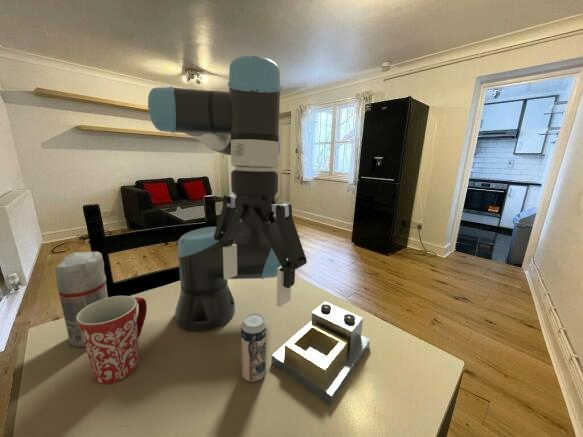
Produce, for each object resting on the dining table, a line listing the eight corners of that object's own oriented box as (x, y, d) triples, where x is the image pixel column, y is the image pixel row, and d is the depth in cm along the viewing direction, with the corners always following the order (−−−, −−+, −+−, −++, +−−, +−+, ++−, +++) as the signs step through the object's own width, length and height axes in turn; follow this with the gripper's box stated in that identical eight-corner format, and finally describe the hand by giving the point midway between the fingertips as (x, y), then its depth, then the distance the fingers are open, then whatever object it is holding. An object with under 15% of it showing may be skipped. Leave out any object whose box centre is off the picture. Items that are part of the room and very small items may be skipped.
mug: (115, 394, 43) (105, 328, 40) (75, 383, 45) (62, 318, 42) (166, 344, 55) (161, 290, 52) (132, 336, 57) (125, 284, 54)
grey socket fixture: (271, 363, 51) (272, 330, 49) (317, 321, 65) (319, 295, 63) (330, 405, 43) (334, 367, 41) (369, 347, 57) (373, 317, 55)
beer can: (255, 388, 45) (255, 332, 43) (236, 375, 48) (235, 322, 45) (270, 370, 49) (271, 317, 47) (252, 359, 52) (252, 309, 49)
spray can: (118, 336, 57) (106, 255, 52) (71, 355, 51) (53, 266, 47) (109, 319, 63) (98, 245, 58) (66, 335, 57) (50, 254, 52)
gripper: (190, 165, 44) (197, 274, 49) (305, 174, 29) (297, 329, 34) (225, 166, 50) (227, 263, 55) (335, 173, 35) (325, 305, 40)
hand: (254, 289), depth 44 cm, fingers open, 13 cm apart
